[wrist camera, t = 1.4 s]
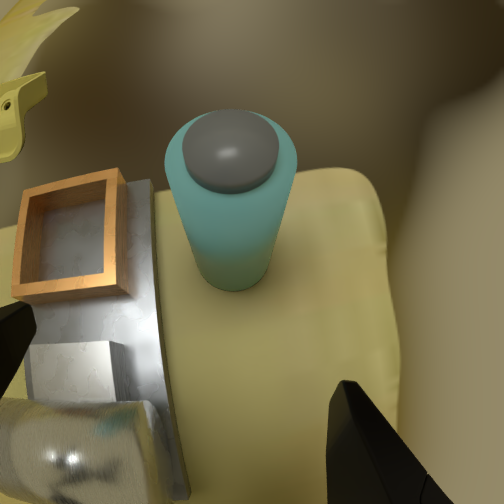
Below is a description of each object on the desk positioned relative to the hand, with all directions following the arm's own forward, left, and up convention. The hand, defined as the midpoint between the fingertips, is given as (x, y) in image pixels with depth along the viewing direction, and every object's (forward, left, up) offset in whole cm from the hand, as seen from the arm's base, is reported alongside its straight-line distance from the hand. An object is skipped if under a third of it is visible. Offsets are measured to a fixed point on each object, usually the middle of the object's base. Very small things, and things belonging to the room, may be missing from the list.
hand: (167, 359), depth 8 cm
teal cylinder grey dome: (+7, -3, -13) cm, 16 cm away
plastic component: (+28, +26, -14) cm, 41 cm away
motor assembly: (+2, +8, -13) cm, 16 cm away
